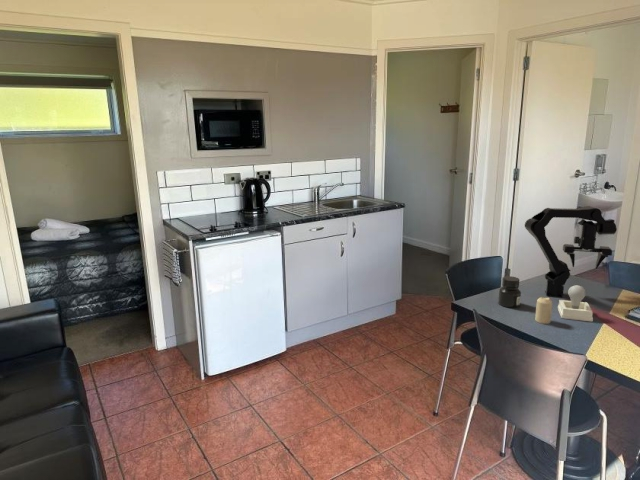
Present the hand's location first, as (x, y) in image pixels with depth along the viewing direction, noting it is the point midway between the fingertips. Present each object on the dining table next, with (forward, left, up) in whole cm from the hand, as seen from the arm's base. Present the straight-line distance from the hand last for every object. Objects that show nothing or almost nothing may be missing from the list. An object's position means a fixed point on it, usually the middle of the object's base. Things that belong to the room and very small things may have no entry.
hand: (584, 267), depth 203 cm
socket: (-7, -27, -13) cm, 31 cm away
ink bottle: (-32, -23, -13) cm, 42 cm away
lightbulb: (-7, -27, -12) cm, 30 cm away
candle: (-20, -38, -13) cm, 45 cm away
